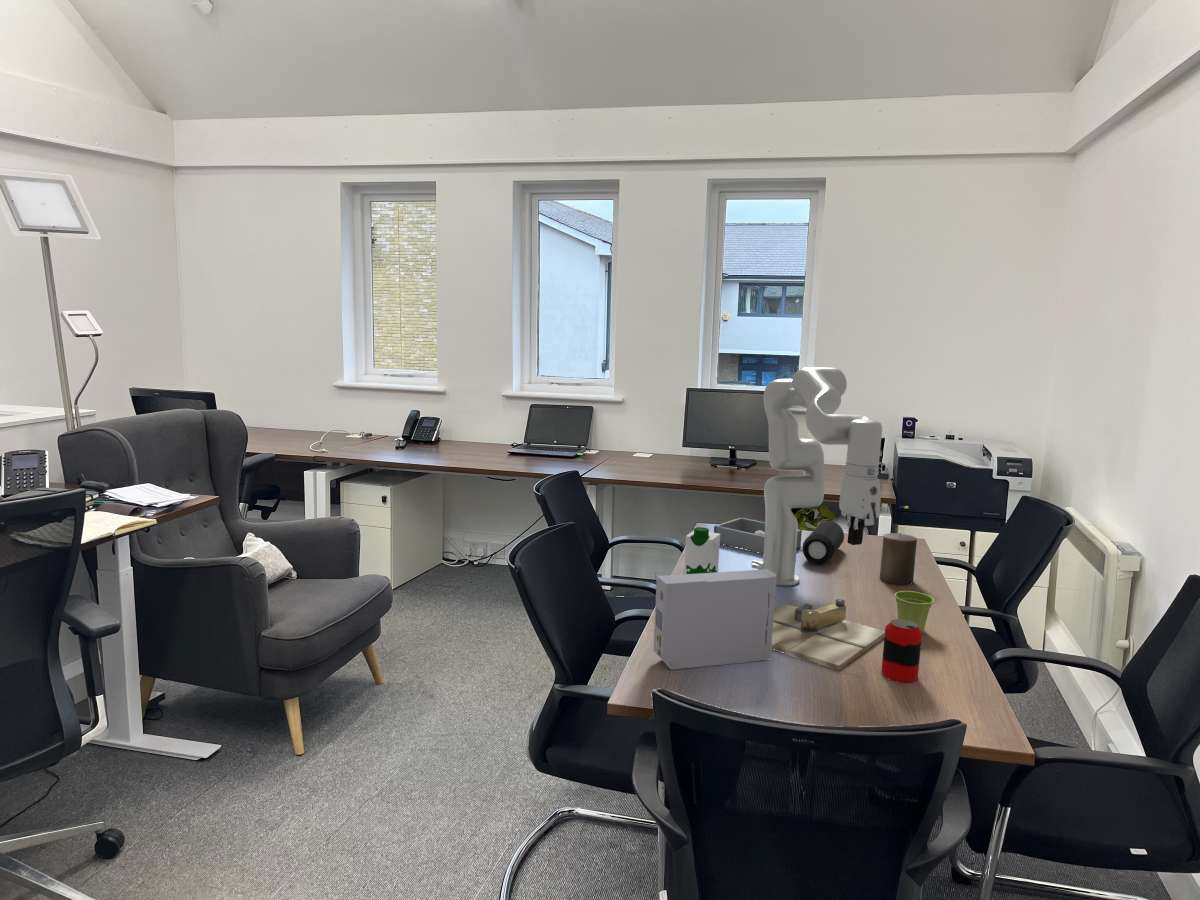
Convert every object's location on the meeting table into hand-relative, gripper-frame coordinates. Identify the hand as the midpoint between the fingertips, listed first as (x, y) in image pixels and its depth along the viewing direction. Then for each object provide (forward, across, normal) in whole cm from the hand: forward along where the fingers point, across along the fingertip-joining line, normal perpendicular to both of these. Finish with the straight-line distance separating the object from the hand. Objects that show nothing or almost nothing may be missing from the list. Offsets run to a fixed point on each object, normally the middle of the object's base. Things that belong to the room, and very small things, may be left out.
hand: (854, 543), depth 200 cm
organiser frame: (+25, +76, -22) cm, 83 cm away
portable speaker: (+25, +58, -36) cm, 73 cm away
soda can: (+23, -25, +6) cm, 34 cm away
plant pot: (+23, -4, -17) cm, 29 cm away
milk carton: (+24, +34, +23) cm, 47 cm away
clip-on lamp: (+25, +74, -20) cm, 81 cm away
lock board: (+23, 0, +11) cm, 25 cm away
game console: (+23, -5, +41) cm, 47 cm away
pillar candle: (+24, +30, -42) cm, 57 cm away
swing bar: (+21, +2, +6) cm, 22 cm away
